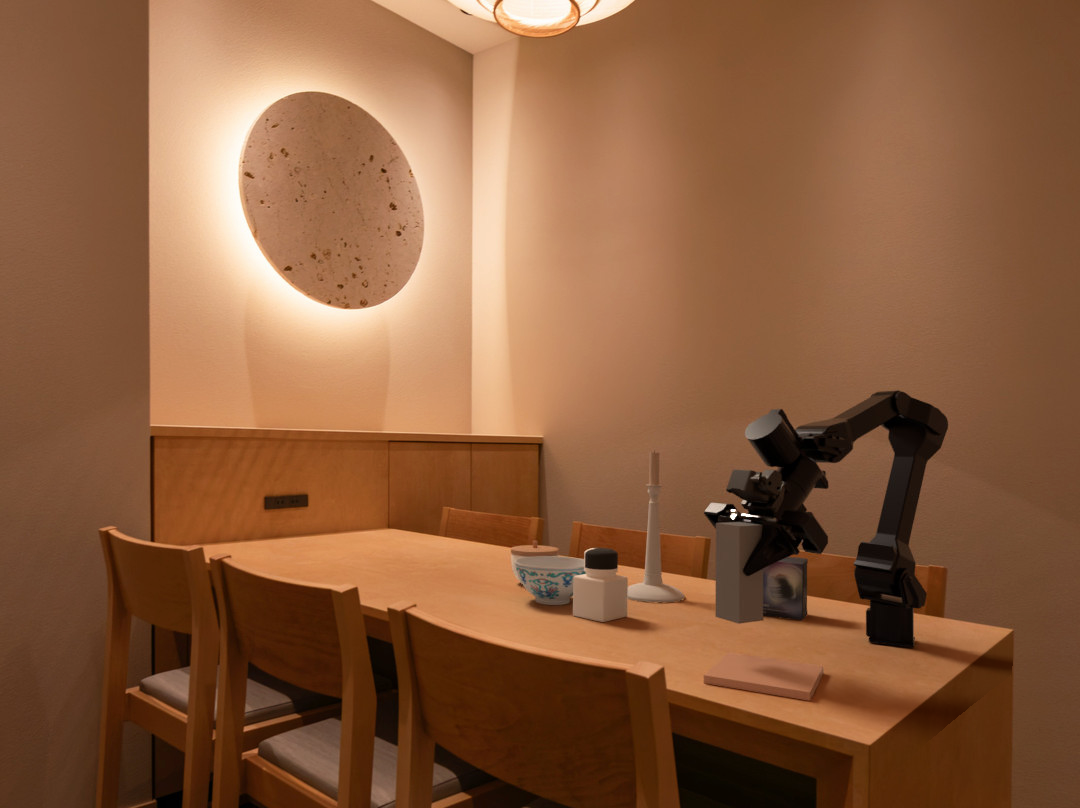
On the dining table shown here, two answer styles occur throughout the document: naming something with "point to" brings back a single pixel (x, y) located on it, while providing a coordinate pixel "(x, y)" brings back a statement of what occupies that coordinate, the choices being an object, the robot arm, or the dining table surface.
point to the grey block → (737, 573)
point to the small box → (785, 588)
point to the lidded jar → (530, 553)
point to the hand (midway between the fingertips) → (732, 571)
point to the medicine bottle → (600, 587)
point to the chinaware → (549, 577)
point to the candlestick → (653, 550)
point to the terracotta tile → (765, 675)
